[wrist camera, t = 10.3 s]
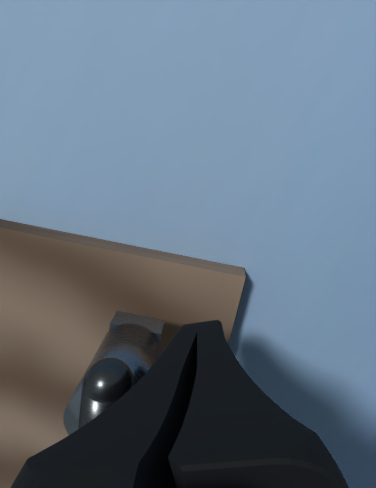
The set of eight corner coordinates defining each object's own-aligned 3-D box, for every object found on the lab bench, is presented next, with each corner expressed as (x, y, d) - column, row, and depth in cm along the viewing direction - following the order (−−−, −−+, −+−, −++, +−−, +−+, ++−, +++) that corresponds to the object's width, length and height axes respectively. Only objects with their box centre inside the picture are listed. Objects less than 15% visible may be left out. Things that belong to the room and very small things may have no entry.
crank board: (177, 529, 22) (175, 550, 21) (-70, 475, 22) (-85, 493, 21) (244, 268, 16) (245, 277, 15) (-95, 200, 16) (-117, 205, 15)
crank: (144, 533, 20) (111, 711, 14) (77, 518, 20) (16, 689, 14) (196, 286, 15) (180, 397, 9) (105, 268, 15) (26, 365, 9)
